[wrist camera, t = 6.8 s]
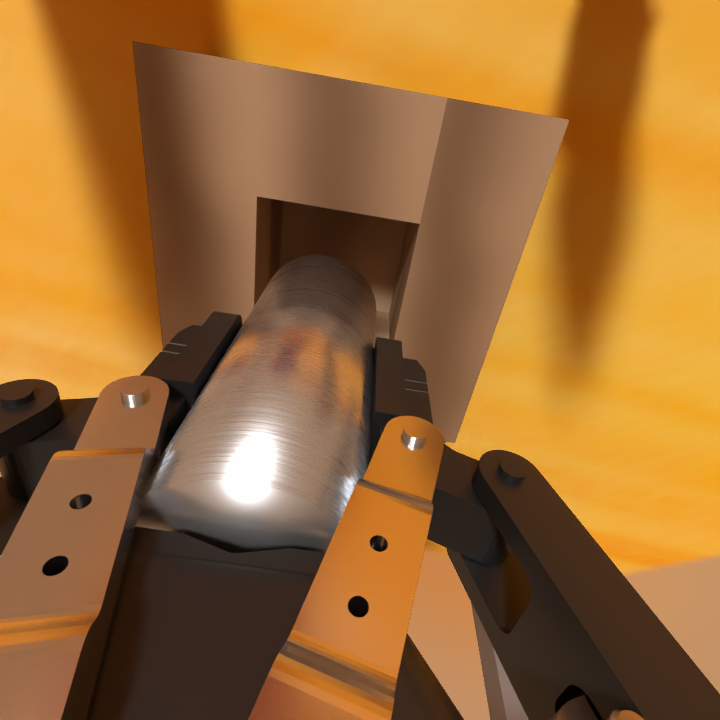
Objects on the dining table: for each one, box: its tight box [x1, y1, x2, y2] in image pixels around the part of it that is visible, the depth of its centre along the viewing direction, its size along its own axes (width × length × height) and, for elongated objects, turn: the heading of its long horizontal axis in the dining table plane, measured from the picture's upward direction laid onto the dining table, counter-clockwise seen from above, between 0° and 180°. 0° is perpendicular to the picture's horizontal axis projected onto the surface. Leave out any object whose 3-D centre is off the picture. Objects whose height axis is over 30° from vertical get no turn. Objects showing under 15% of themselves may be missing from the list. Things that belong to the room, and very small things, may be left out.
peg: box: [135, 255, 376, 553], centre depth 11 cm, size 4×4×10 cm
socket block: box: [133, 42, 569, 443], centre depth 20 cm, size 14×14×6 cm
